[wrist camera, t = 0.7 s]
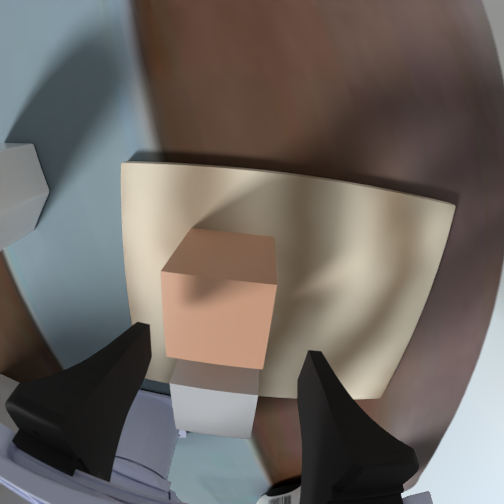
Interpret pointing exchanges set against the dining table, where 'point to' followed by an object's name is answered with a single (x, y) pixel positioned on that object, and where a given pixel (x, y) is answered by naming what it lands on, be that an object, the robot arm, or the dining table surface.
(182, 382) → the grey cover
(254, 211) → the birch board
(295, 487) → the milk container
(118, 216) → the dining table surface
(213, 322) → the terracotta cover
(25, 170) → the jar
